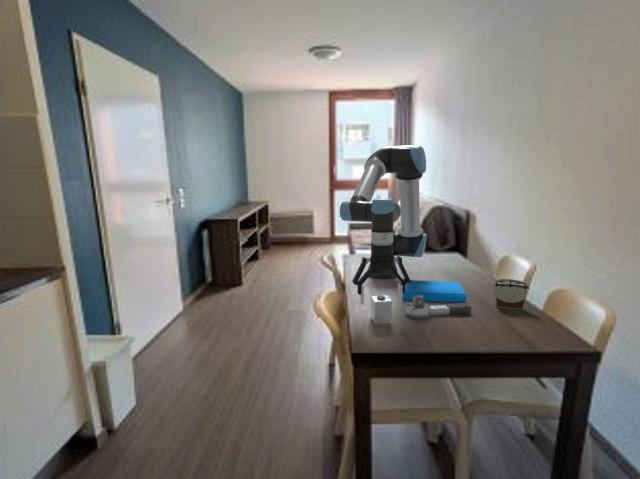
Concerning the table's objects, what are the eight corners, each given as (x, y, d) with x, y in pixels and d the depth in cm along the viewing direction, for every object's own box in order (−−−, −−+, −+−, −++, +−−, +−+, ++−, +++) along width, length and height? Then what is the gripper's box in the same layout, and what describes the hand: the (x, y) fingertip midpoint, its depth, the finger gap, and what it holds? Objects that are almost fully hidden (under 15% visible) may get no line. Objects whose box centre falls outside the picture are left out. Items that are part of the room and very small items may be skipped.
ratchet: (402, 310, 146) (402, 292, 145) (462, 307, 148) (464, 290, 147) (409, 319, 138) (410, 300, 136) (474, 316, 140) (475, 298, 138)
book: (401, 279, 173) (458, 281, 169) (400, 289, 174) (458, 290, 170) (402, 292, 157) (466, 293, 153) (402, 302, 158) (466, 303, 153)
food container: (524, 304, 151) (526, 280, 149) (527, 310, 145) (529, 284, 143) (490, 301, 155) (492, 277, 153) (491, 306, 149) (493, 281, 147)
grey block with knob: (370, 317, 140) (371, 294, 138) (386, 316, 140) (387, 293, 139) (374, 324, 134) (374, 300, 132) (391, 323, 135) (391, 299, 133)
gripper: (347, 246, 127) (347, 307, 131) (421, 244, 129) (418, 304, 133) (344, 242, 134) (344, 300, 138) (413, 240, 137) (411, 297, 140)
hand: (380, 302), depth 136 cm, fingers open, 13 cm apart
